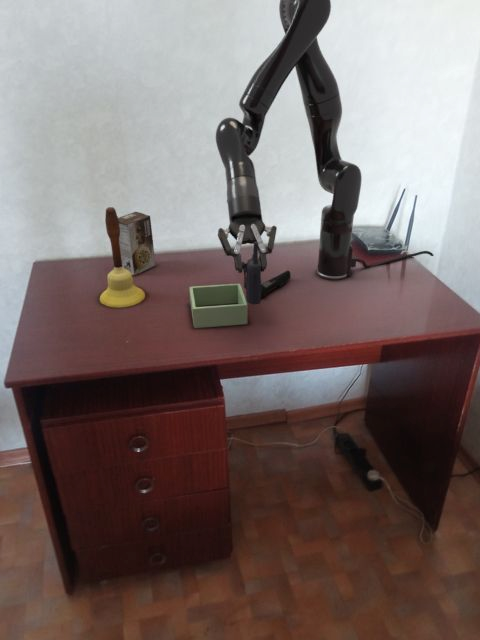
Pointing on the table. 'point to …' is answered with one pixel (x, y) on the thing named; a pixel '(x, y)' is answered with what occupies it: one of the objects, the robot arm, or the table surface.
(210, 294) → the square frame
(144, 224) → the coffee box
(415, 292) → the table surface
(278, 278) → the electric trimmer
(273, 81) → the robot arm
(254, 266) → the two-way radio
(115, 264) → the handbell
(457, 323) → the table surface
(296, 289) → the table surface
